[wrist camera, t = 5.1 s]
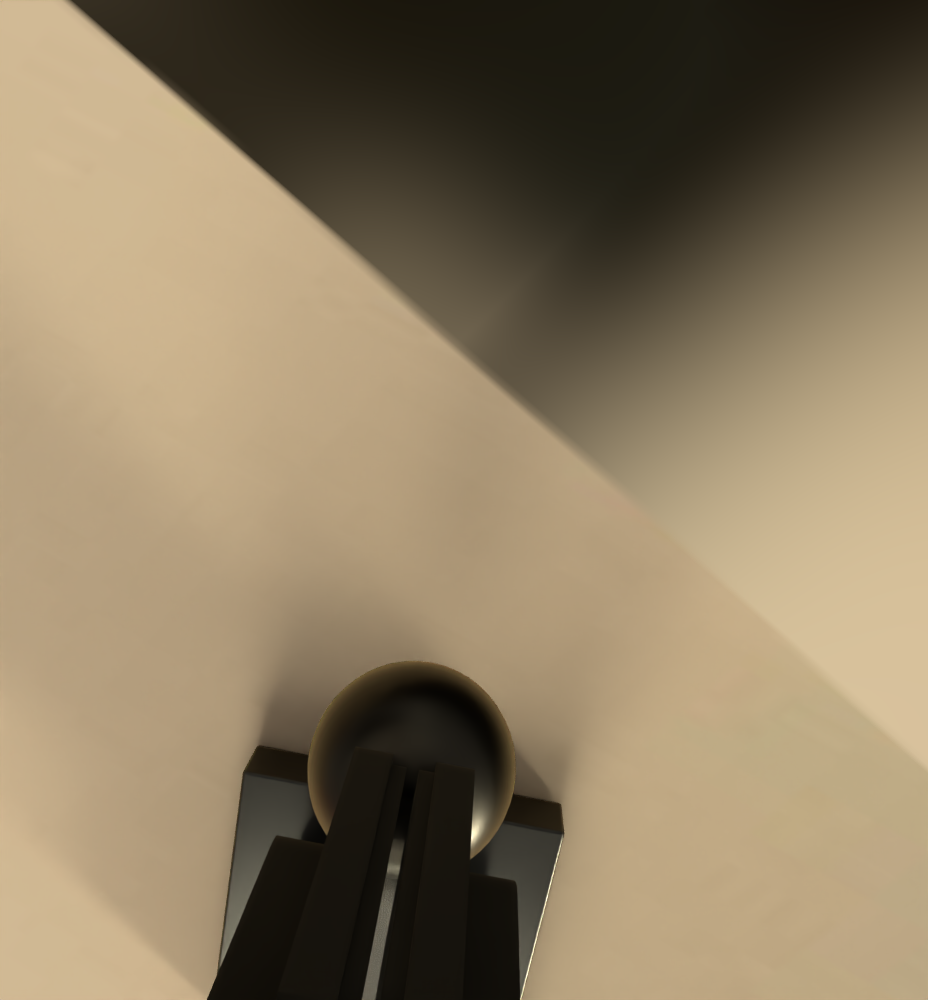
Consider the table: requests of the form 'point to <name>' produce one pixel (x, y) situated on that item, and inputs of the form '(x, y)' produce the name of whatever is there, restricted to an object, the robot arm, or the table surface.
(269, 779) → the lever base
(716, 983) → the table surface
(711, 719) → the table surface
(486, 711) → the tap lever
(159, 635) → the table surface
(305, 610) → the table surface
